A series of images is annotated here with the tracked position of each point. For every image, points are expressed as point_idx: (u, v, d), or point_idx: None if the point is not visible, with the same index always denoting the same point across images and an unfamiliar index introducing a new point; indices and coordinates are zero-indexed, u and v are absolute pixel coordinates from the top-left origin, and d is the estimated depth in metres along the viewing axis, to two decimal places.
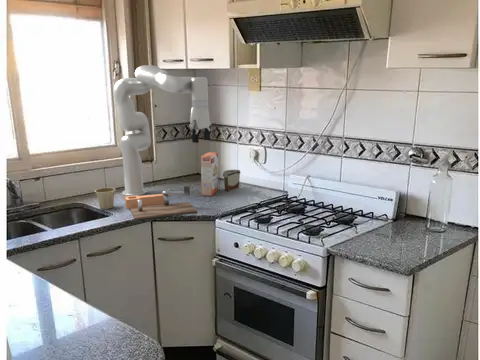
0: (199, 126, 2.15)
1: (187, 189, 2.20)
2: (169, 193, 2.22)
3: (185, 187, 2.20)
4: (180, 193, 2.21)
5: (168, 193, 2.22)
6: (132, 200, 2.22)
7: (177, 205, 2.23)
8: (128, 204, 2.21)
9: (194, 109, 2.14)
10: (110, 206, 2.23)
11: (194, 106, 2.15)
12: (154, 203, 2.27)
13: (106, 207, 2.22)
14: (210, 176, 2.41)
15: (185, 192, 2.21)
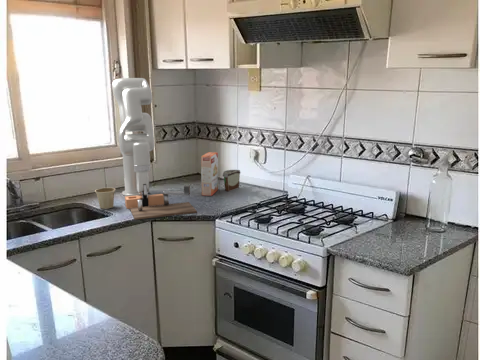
0: None
1: (187, 189, 2.20)
2: (169, 193, 2.22)
3: (185, 187, 2.20)
4: (180, 193, 2.21)
5: (168, 193, 2.22)
6: (132, 200, 2.22)
7: (177, 205, 2.23)
8: (128, 204, 2.21)
9: (143, 173, 2.19)
10: (110, 206, 2.23)
11: (141, 171, 2.20)
12: (154, 203, 2.27)
13: (106, 207, 2.22)
14: (210, 176, 2.41)
15: (185, 192, 2.21)
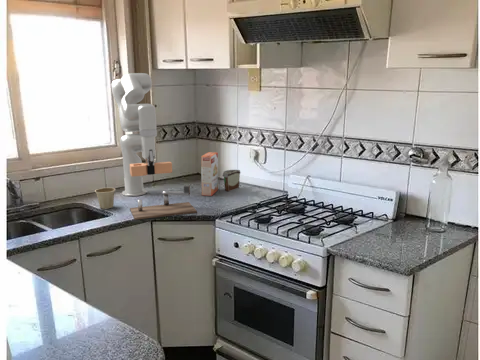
0: None
1: (187, 189, 2.20)
2: (169, 193, 2.22)
3: (185, 187, 2.20)
4: (180, 193, 2.21)
5: (168, 193, 2.22)
6: (137, 167, 2.08)
7: (177, 205, 2.23)
8: (133, 171, 2.08)
9: (149, 138, 2.06)
10: (110, 206, 2.23)
11: (147, 135, 2.06)
12: (161, 171, 2.13)
13: (106, 207, 2.22)
14: (210, 176, 2.41)
15: (185, 192, 2.21)
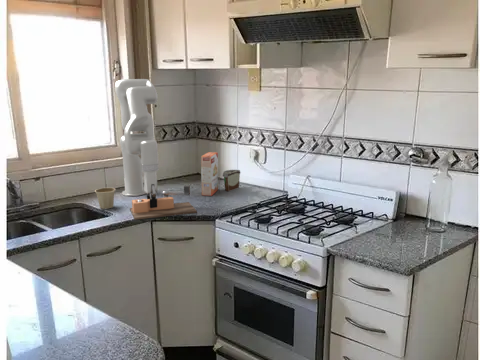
0: None
1: (187, 189, 2.20)
2: (169, 193, 2.22)
3: (185, 187, 2.20)
4: (180, 193, 2.21)
5: (168, 193, 2.22)
6: (140, 204, 2.12)
7: (177, 205, 2.23)
8: (135, 208, 2.11)
9: (151, 173, 2.09)
10: (110, 206, 2.23)
11: (149, 170, 2.10)
12: (162, 207, 2.17)
13: (106, 207, 2.22)
14: (210, 176, 2.41)
15: (185, 192, 2.21)
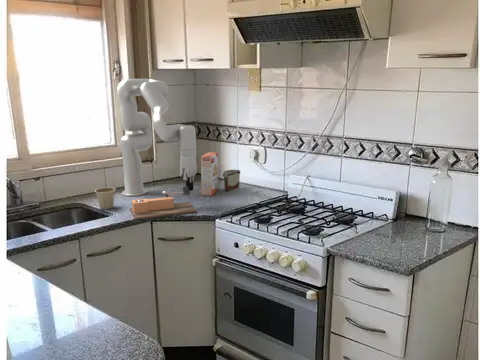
0: (189, 174, 2.18)
1: (186, 190, 2.19)
2: (169, 193, 2.21)
3: (184, 188, 2.19)
4: (179, 193, 2.21)
5: (168, 193, 2.22)
6: (140, 204, 2.12)
7: (177, 205, 2.23)
8: (135, 208, 2.11)
9: (183, 158, 2.16)
10: (110, 206, 2.23)
11: (183, 155, 2.17)
12: (162, 207, 2.17)
13: (106, 207, 2.22)
14: (210, 176, 2.41)
15: (185, 193, 2.20)
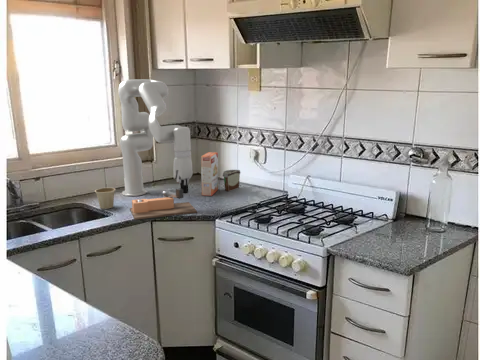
0: (182, 176, 2.12)
1: (178, 192, 2.15)
2: (166, 193, 2.21)
3: (176, 190, 2.15)
4: (173, 195, 2.17)
5: (165, 193, 2.21)
6: (140, 204, 2.12)
7: (177, 205, 2.23)
8: (135, 208, 2.11)
9: (177, 159, 2.11)
10: (110, 206, 2.23)
11: (177, 156, 2.12)
12: (162, 207, 2.17)
13: (106, 207, 2.22)
14: (210, 176, 2.41)
15: (177, 196, 2.16)
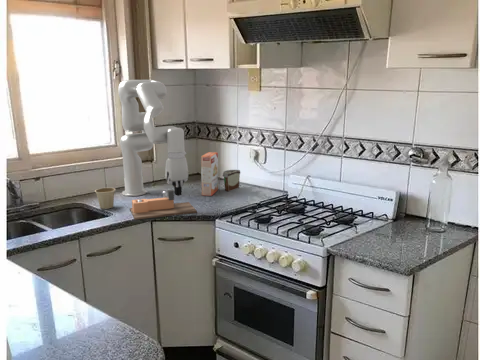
0: (172, 178, 2.10)
1: (168, 194, 2.12)
2: (164, 194, 2.21)
3: (167, 191, 2.13)
4: (167, 196, 2.16)
5: (164, 193, 2.21)
6: (140, 204, 2.12)
7: (177, 205, 2.23)
8: (135, 208, 2.11)
9: (167, 161, 2.09)
10: (110, 206, 2.23)
11: (168, 158, 2.10)
12: (162, 207, 2.17)
13: (106, 207, 2.22)
14: (210, 176, 2.41)
15: (168, 197, 2.14)
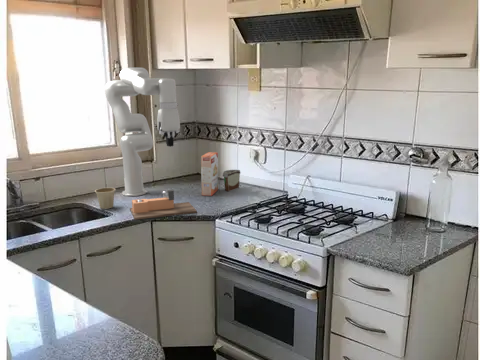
0: (164, 128, 2.13)
1: (168, 194, 2.12)
2: (164, 194, 2.21)
3: (167, 191, 2.13)
4: (167, 196, 2.16)
5: (164, 193, 2.21)
6: (140, 204, 2.12)
7: (177, 205, 2.23)
8: (135, 208, 2.11)
9: (159, 111, 2.13)
10: (110, 206, 2.23)
11: (160, 108, 2.13)
12: (162, 207, 2.17)
13: (106, 207, 2.22)
14: (210, 176, 2.41)
15: (168, 197, 2.14)
